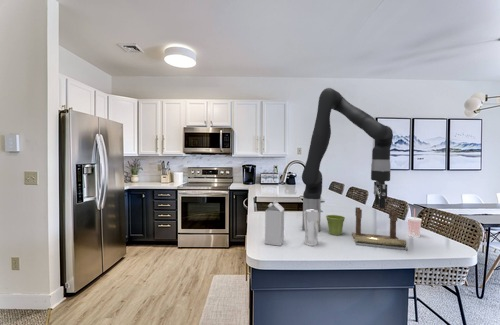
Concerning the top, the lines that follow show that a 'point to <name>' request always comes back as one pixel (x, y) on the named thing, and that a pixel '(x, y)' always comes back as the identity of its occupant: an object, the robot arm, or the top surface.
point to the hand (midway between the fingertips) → (379, 206)
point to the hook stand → (358, 213)
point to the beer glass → (311, 226)
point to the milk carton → (274, 224)
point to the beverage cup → (414, 226)
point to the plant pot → (335, 224)
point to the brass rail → (380, 241)
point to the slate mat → (380, 246)
